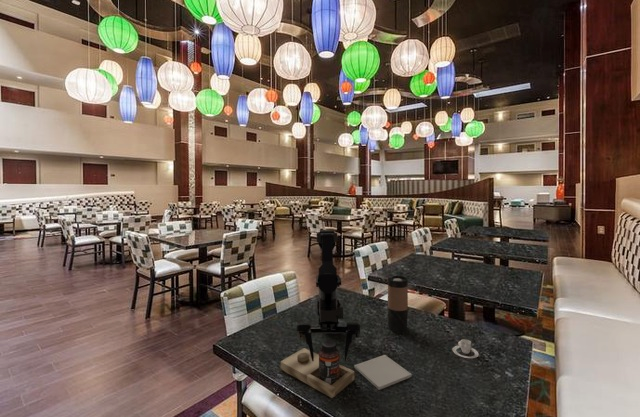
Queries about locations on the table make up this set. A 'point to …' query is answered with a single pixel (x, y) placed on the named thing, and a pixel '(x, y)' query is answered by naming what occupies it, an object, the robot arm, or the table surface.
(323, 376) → the supplement bottle
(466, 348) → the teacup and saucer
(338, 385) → the sliding-lid wooden box
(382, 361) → the grey pad
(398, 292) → the travel mug
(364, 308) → the table surface
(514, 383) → the table surface
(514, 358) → the table surface
